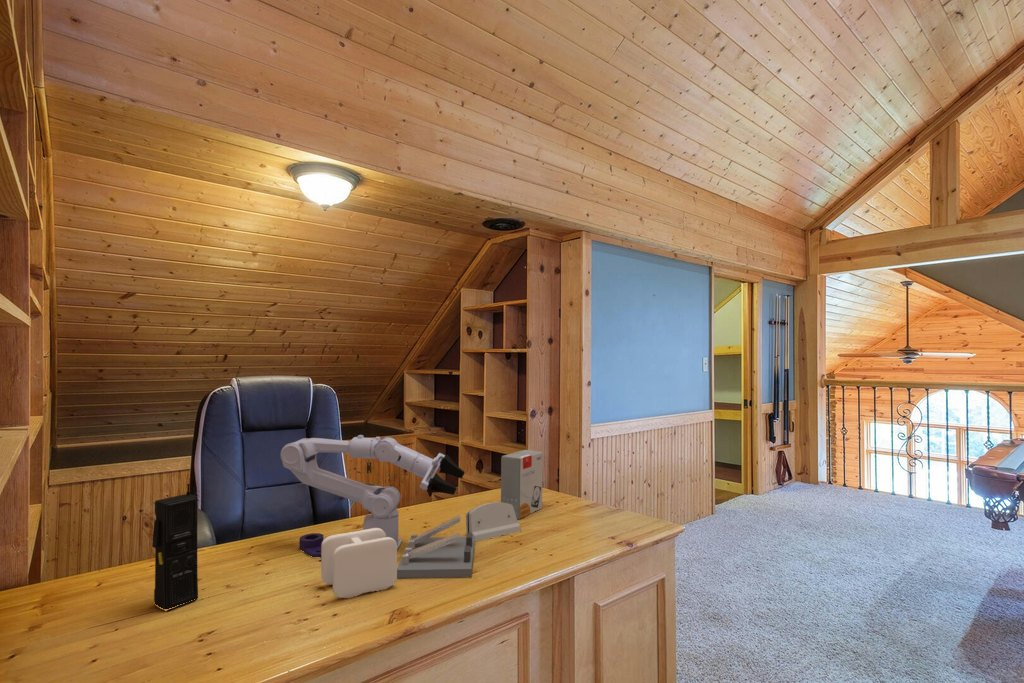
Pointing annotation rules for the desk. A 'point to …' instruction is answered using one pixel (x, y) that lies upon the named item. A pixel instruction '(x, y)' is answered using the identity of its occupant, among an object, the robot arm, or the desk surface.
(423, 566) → the base plate
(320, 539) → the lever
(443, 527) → the strip
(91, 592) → the desk surface
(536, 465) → the hard drive box
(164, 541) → the portable radio
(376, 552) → the cable organizer
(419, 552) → the front strap
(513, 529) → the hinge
